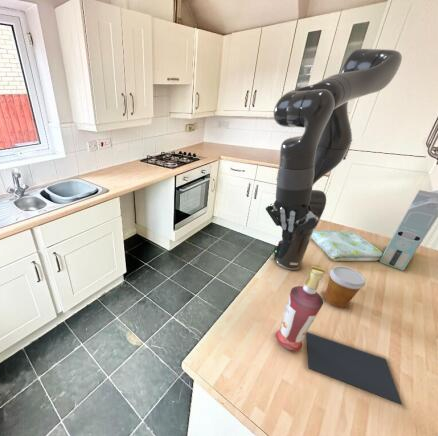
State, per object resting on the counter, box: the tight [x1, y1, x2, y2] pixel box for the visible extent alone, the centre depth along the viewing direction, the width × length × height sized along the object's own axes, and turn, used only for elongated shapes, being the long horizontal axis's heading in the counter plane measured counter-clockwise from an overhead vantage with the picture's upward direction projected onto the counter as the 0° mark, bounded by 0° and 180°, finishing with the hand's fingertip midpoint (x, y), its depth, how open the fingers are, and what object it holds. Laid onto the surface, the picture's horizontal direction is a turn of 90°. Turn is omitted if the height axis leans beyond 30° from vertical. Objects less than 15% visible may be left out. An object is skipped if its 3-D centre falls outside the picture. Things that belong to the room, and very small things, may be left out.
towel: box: [310, 230, 383, 262], centre depth 110 cm, size 18×21×5 cm
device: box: [378, 189, 438, 272], centre depth 97 cm, size 16×8×30 cm, turn 129°
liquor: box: [275, 265, 325, 352], centre depth 65 cm, size 7×7×28 cm
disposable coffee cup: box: [324, 265, 366, 309], centre depth 82 cm, size 10×10×12 cm
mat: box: [305, 331, 403, 405], centre depth 66 cm, size 19×12×1 cm, turn 63°
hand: (287, 240), depth 67 cm, fingers closed
